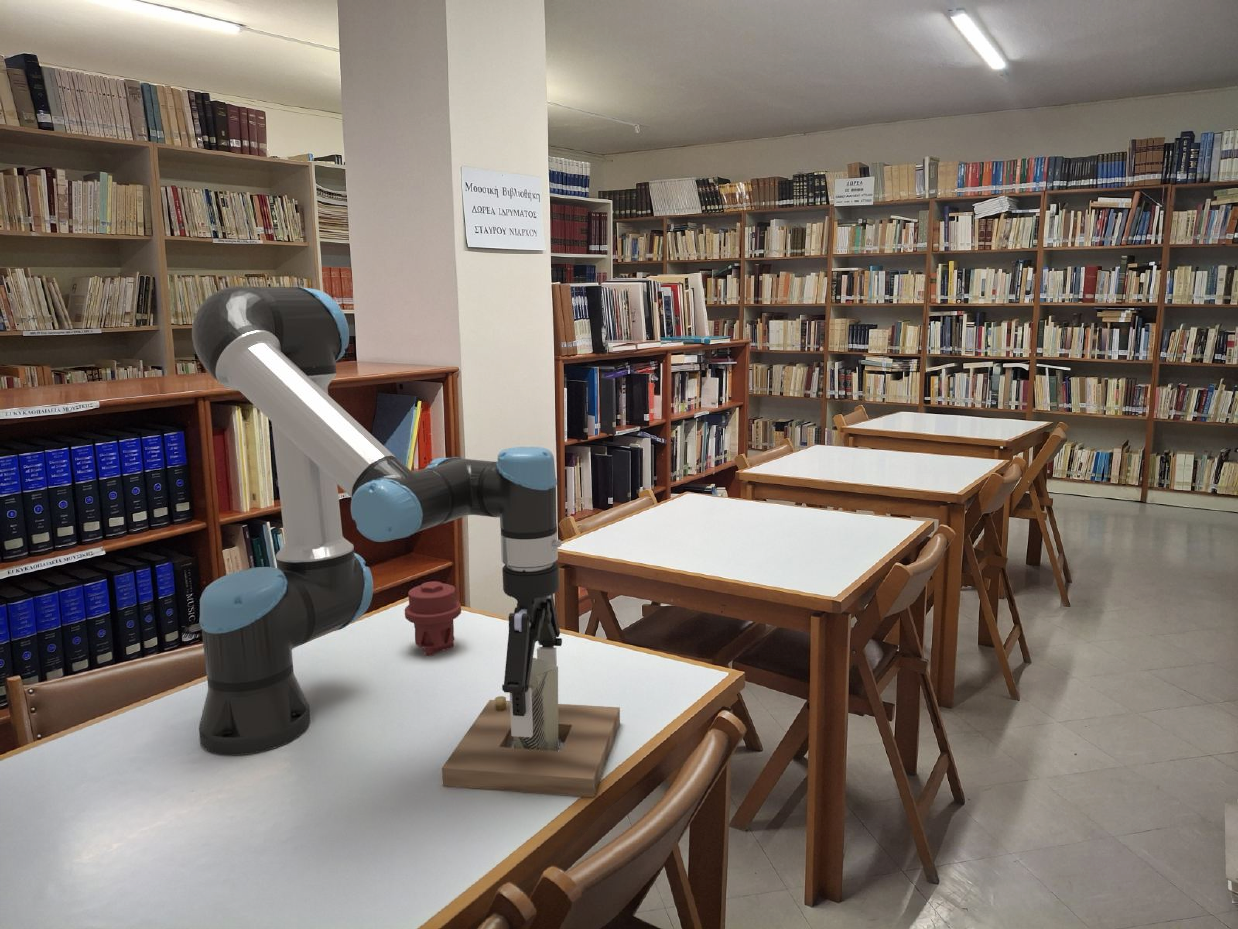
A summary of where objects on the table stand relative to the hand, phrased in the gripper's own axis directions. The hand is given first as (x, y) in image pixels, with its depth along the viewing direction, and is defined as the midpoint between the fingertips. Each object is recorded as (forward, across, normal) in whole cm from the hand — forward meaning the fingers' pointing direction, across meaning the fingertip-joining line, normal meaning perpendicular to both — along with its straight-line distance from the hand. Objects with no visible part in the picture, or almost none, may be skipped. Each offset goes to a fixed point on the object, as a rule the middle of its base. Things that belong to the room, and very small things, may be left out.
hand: (535, 712), depth 118 cm
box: (+6, 0, 0) cm, 6 cm away
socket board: (+6, 0, 0) cm, 6 cm away
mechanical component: (+6, +34, +28) cm, 45 cm away
